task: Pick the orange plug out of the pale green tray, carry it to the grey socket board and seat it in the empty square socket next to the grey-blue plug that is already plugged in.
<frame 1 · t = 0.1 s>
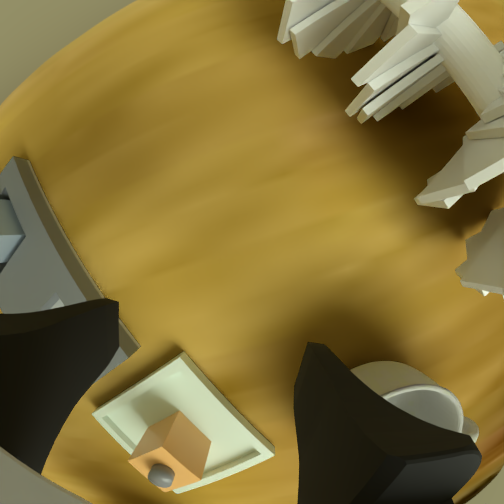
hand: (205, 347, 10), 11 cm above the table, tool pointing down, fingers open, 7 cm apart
grey socket board: (41, 279, 22), on the table
seated twin plug: (14, 231, 21), resting on grey socket board
orange plug: (179, 434, 21), resting on tray
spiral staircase: (428, 127, 20), on the table
tray: (180, 432, 22), on the table
teacup: (377, 404, 21), on the table
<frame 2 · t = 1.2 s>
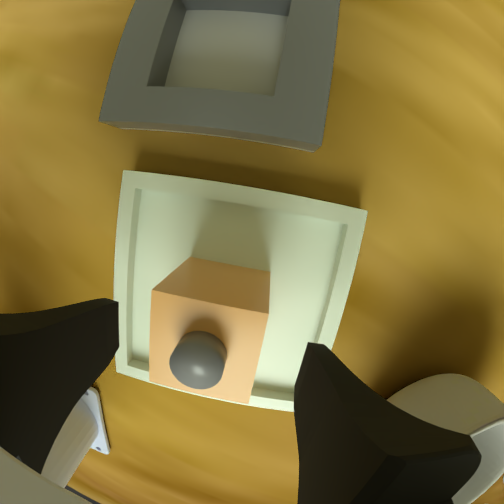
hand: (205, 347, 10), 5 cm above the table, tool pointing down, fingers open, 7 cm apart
orange plug: (223, 302, 15), resting on tray
tray: (225, 299, 15), on the table
teacup: (414, 424, 17), on the table
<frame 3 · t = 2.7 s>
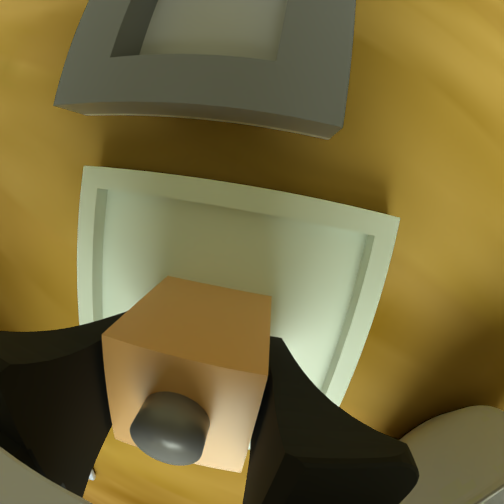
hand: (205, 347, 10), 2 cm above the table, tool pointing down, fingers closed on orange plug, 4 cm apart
orange plug: (211, 332, 12), resting on tray, touching gripper
tray: (213, 328, 12), on the table
teacup: (430, 454, 13), on the table
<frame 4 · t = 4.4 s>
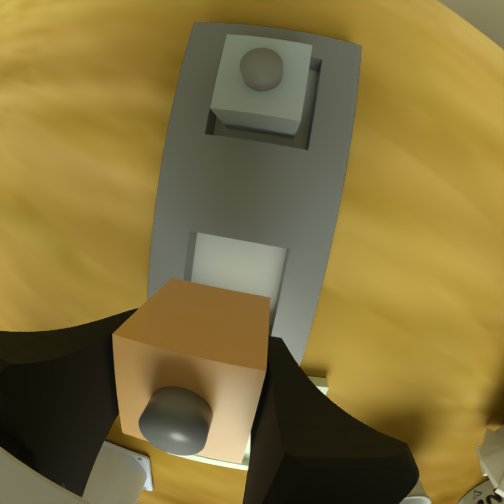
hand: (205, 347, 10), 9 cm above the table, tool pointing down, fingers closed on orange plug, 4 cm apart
grey socket board: (250, 190, 18), on the table
seated twin plug: (265, 102, 16), resting on grey socket board
orange plug: (213, 331, 12), point 7 cm above the table, touching gripper
tray: (237, 420, 22), on the table
mug: (478, 493, 25), on the table
teacup: (365, 476, 23), on the table
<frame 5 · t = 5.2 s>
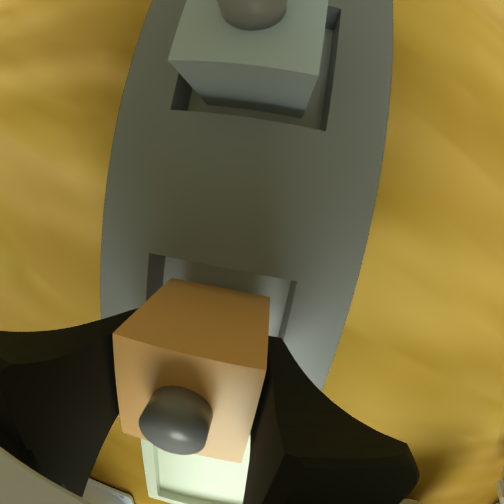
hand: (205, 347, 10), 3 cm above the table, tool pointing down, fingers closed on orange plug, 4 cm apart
grey socket board: (240, 191, 13), on the table
seated twin plug: (261, 68, 11), resting on grey socket board
orange plug: (213, 331, 12), point 2 cm above the table, touching gripper
tray: (229, 470, 16), on the table
when the fingers open (3 cm above the table, at t = 6.1 s): orange plug stays where it is, resting on grey socket board.
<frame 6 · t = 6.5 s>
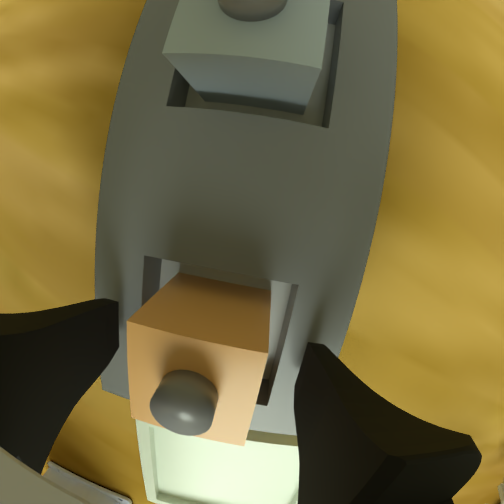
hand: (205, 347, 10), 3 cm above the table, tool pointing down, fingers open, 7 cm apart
grey socket board: (239, 190, 12), on the table
seated twin plug: (261, 63, 10), resting on grey socket board
orange plug: (217, 323, 13), resting on grey socket board
tray: (228, 475, 16), on the table
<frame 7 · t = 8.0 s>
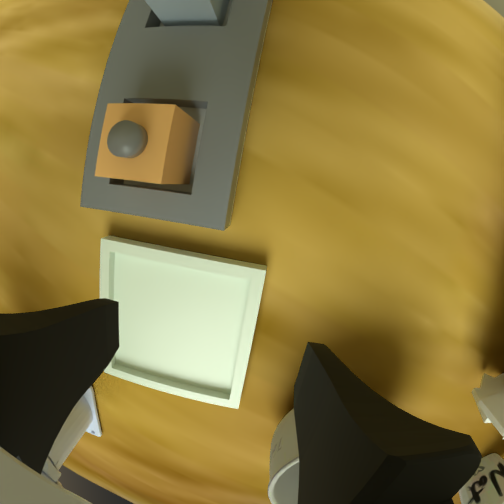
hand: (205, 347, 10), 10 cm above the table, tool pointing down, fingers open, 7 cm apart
grey socket board: (184, 72, 17), on the table
seated twin plug: (200, 8, 16), resting on grey socket board
orange plug: (165, 150, 18), resting on grey socket board
tray: (174, 325, 21), on the table
mug: (479, 471, 25), on the table
teacup: (337, 427, 23), on the table
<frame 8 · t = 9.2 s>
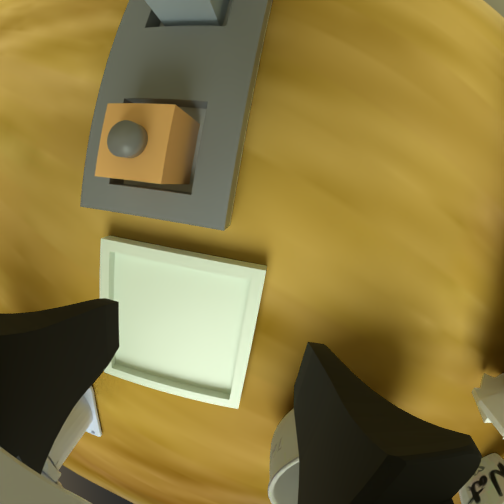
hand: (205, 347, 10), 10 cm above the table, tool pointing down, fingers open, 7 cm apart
grey socket board: (184, 72, 17), on the table
seated twin plug: (200, 8, 16), resting on grey socket board
orange plug: (165, 150, 18), resting on grey socket board
tray: (174, 325, 21), on the table
mug: (479, 471, 25), on the table
teacup: (337, 427, 23), on the table
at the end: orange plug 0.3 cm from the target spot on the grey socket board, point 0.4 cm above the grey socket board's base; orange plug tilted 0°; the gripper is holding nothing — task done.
